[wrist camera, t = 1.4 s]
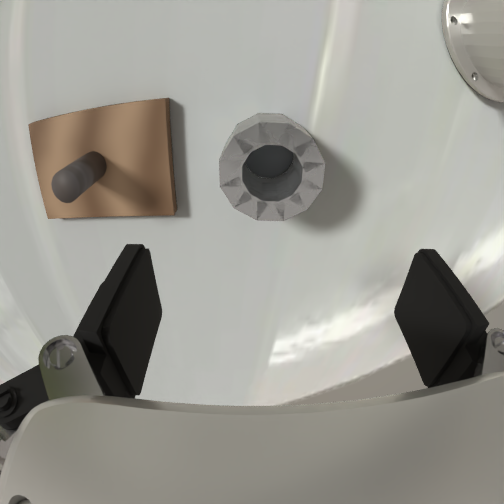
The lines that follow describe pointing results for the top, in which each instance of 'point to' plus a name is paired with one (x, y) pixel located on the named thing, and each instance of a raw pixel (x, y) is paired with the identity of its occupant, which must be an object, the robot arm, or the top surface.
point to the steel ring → (281, 187)
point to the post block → (106, 161)
